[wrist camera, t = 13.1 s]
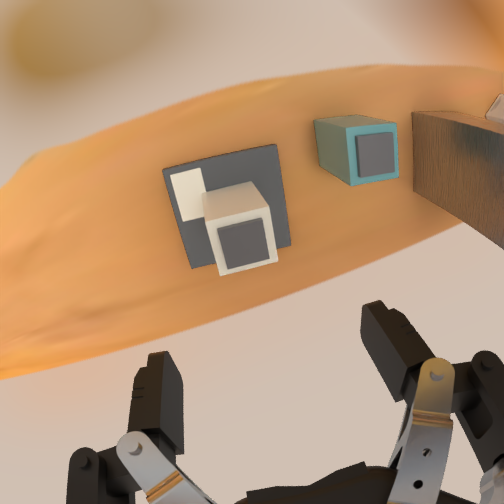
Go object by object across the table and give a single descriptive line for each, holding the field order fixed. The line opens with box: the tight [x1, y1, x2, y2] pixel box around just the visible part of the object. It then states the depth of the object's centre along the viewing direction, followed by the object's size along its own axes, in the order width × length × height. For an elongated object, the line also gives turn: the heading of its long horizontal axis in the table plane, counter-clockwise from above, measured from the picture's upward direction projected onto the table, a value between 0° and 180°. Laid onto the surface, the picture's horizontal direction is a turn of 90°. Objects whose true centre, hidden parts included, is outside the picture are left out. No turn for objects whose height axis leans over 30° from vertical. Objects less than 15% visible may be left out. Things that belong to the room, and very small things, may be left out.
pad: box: [162, 144, 291, 269], centre depth 25 cm, size 9×9×1 cm
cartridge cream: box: [202, 181, 278, 276], centre depth 22 cm, size 4×4×6 cm
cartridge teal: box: [314, 115, 399, 186], centre depth 21 cm, size 4×4×6 cm
